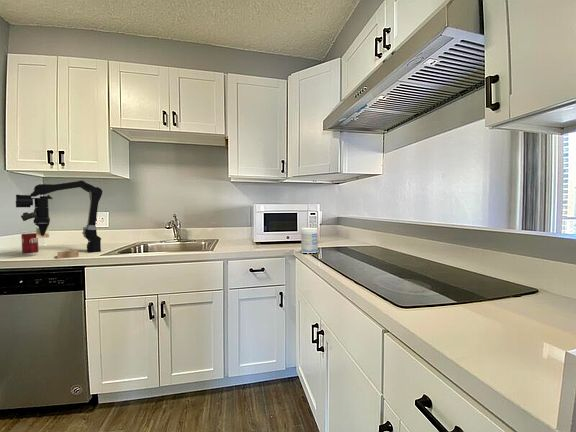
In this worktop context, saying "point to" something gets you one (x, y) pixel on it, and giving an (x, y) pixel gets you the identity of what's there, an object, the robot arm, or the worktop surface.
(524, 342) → the worktop surface
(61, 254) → the walnut block
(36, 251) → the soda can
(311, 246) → the supplement tub
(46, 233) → the oak cube
